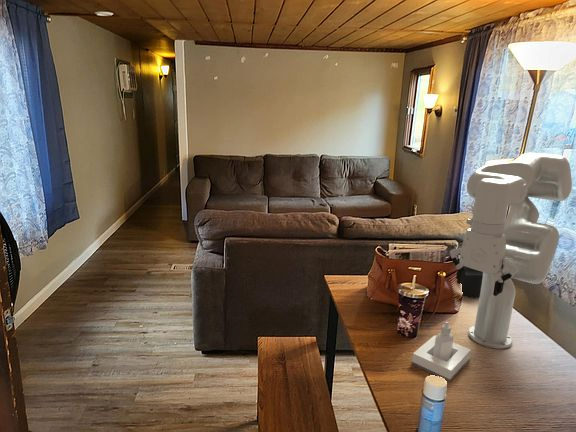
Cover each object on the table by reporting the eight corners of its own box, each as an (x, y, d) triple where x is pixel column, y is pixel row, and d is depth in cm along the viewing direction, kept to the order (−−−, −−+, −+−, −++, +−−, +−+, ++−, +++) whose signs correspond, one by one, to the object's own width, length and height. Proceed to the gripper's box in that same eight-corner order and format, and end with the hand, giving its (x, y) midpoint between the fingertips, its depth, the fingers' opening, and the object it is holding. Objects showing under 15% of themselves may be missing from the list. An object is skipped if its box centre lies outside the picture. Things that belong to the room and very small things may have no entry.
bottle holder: (433, 345, 129) (434, 334, 128) (469, 360, 122) (471, 349, 121) (411, 364, 119) (413, 353, 118) (449, 381, 112) (451, 370, 111)
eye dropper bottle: (453, 364, 118) (460, 326, 115) (434, 364, 118) (440, 326, 115) (447, 355, 122) (453, 318, 119) (428, 354, 122) (434, 318, 119)
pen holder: (478, 289, 169) (481, 266, 167) (486, 299, 160) (490, 275, 158) (454, 287, 170) (457, 265, 168) (461, 298, 161) (465, 274, 159)
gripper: (448, 222, 110) (440, 281, 115) (518, 239, 98) (506, 304, 103) (461, 217, 115) (453, 274, 120) (529, 232, 103) (517, 294, 108)
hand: (478, 288), depth 112 cm, fingers open, 9 cm apart
